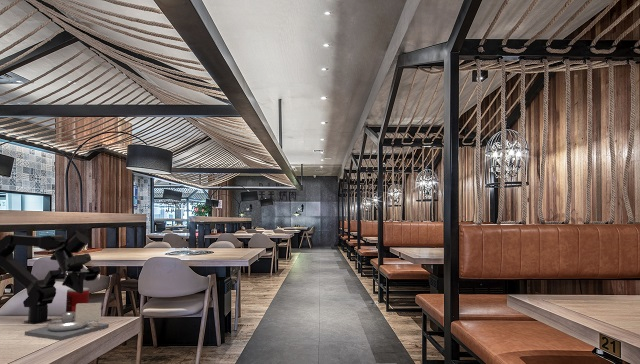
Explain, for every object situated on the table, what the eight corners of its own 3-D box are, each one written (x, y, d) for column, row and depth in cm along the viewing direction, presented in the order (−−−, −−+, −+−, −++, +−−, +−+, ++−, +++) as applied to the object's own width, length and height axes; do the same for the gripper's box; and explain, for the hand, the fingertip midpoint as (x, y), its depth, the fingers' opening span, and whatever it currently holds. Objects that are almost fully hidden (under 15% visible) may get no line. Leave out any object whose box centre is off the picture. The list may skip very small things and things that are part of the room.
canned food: (92, 314, 174) (93, 287, 176) (79, 318, 167) (80, 290, 168) (74, 314, 175) (76, 287, 176) (61, 318, 167) (62, 290, 168)
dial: (40, 331, 141) (41, 307, 141) (58, 323, 152) (59, 301, 153) (92, 329, 142) (93, 306, 143) (106, 321, 154) (107, 300, 155)
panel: (24, 335, 142) (24, 330, 142) (74, 323, 159) (75, 319, 159) (61, 340, 135) (61, 335, 136) (109, 327, 152) (109, 323, 152)
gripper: (49, 248, 152) (64, 281, 145) (99, 245, 168) (115, 275, 161) (37, 269, 155) (51, 302, 148) (87, 264, 171) (102, 294, 164)
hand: (81, 292), depth 155 cm, fingers closed
